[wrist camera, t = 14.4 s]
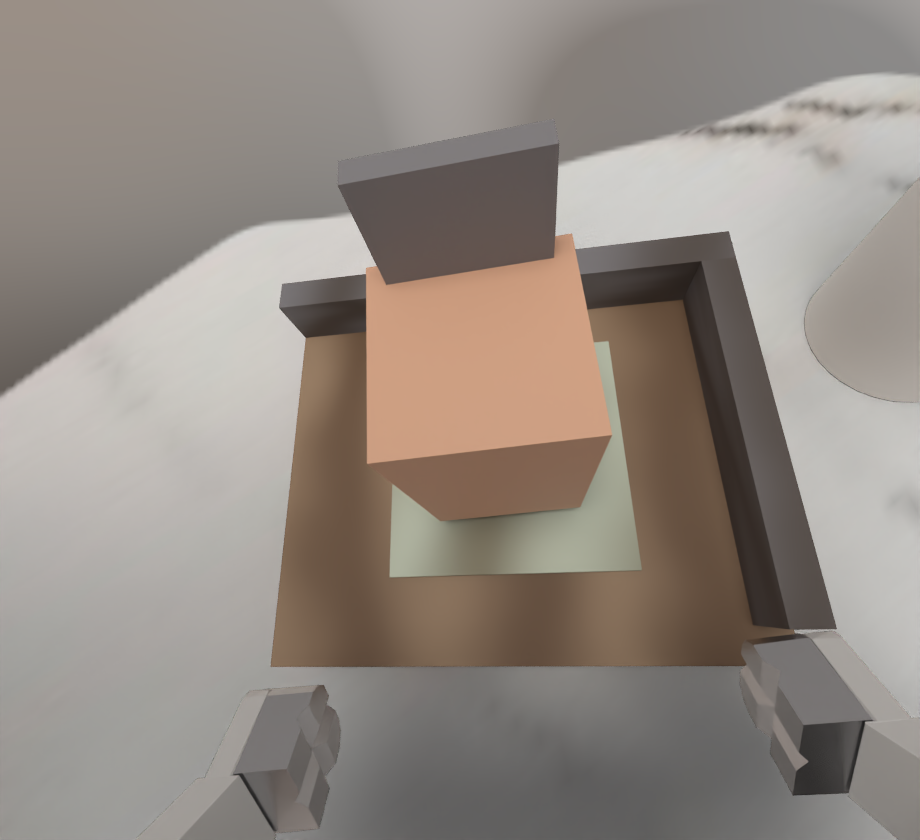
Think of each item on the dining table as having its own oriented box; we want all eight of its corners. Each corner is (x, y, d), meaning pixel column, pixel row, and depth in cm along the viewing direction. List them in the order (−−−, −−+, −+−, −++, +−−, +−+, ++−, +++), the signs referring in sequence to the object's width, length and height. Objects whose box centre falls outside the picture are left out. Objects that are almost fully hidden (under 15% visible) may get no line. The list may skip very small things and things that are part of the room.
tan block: (444, 524, 18) (300, 412, 7) (436, 403, 20) (312, 165, 9) (578, 511, 18) (642, 366, 7) (558, 387, 19) (582, 112, 8)
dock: (317, 654, 21) (229, 677, 15) (340, 355, 27) (282, 283, 21) (750, 652, 19) (850, 678, 13) (681, 323, 24) (728, 231, 18)
